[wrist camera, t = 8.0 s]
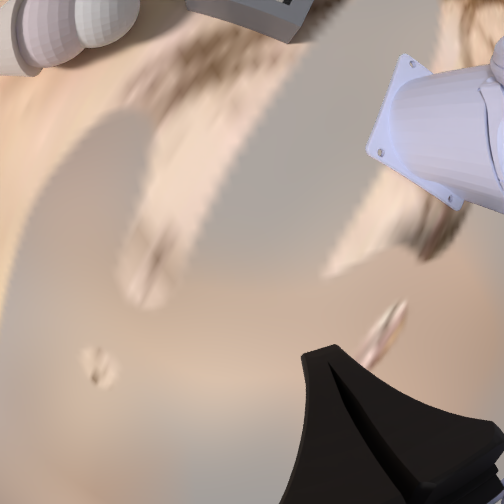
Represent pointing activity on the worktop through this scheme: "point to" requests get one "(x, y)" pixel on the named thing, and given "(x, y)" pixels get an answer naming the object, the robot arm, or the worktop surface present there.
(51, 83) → the worktop surface
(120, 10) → the ice cream cone
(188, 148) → the worktop surface
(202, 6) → the grey compartment tray
